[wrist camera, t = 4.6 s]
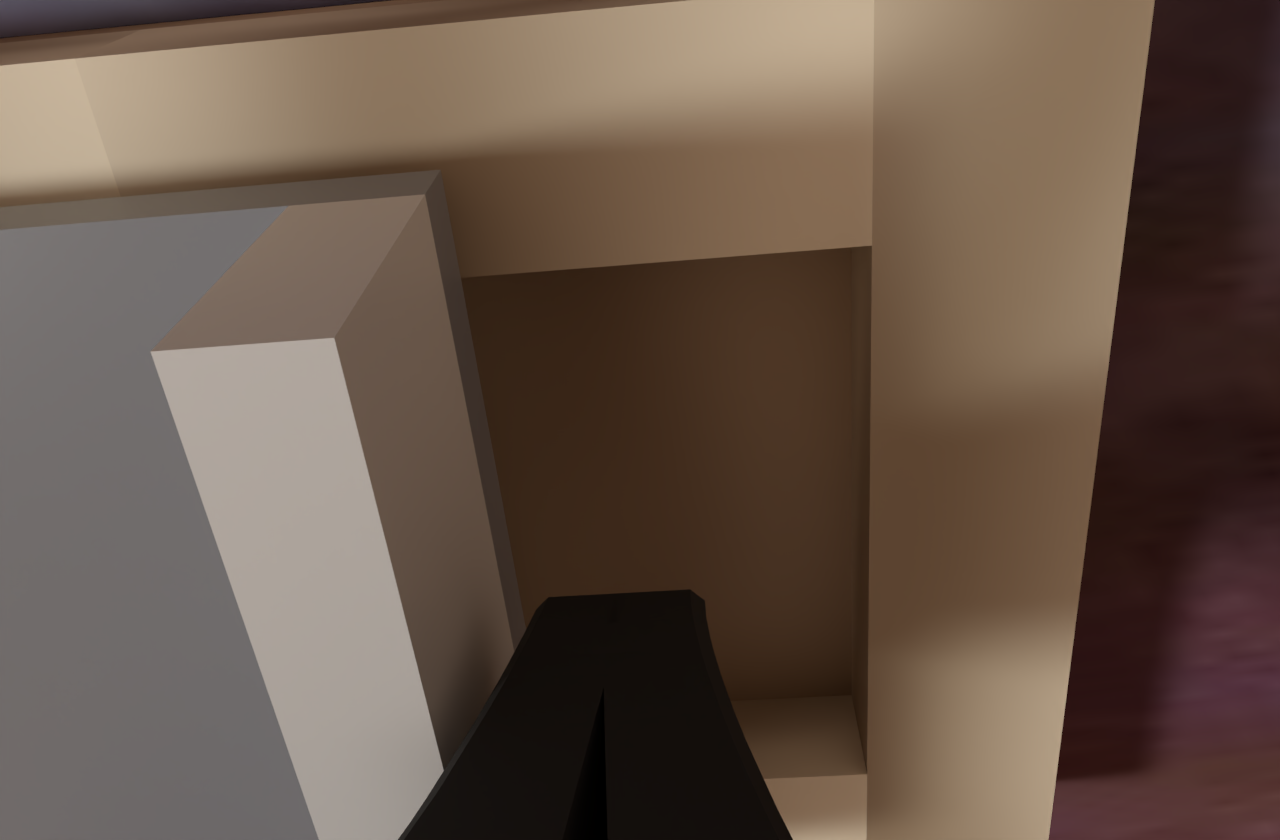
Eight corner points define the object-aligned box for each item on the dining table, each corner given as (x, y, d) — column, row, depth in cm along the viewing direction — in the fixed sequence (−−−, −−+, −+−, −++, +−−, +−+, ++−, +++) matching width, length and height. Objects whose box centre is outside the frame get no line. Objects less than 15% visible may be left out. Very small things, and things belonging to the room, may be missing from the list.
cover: (440, 168, 8) (335, 338, 6) (570, 872, 12) (543, 1161, 10) (-413, 242, 9) (-868, 427, 6) (-28, 895, 13) (-207, 1177, 10)
